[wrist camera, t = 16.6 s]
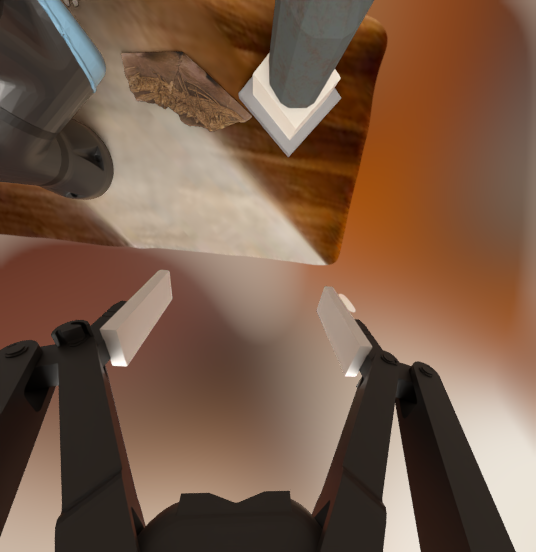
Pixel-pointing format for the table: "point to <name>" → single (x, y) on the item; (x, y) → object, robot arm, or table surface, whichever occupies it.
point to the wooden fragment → (181, 89)
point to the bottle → (309, 45)
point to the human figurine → (75, 2)
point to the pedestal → (286, 109)
